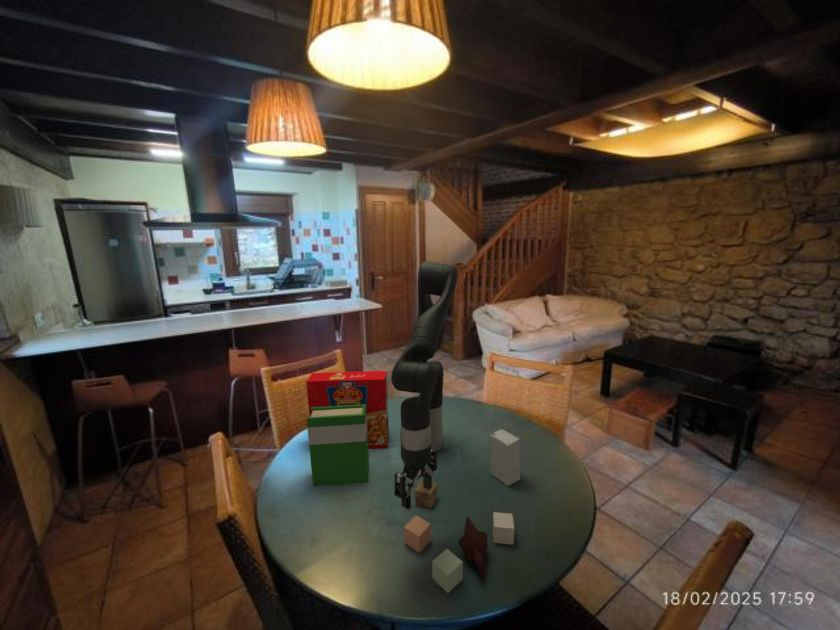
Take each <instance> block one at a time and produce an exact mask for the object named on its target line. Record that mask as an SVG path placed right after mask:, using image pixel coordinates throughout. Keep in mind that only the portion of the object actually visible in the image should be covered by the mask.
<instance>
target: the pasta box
mask: <svg viewBox="0 0 840 630" xmlns="http://www.w3.org/2000/svg"><path fill="white" fill-rule="evenodd" d="M305 382H306V392H307V404H308V413H309V414H308V415H309V417H311V407H326V406H343V405H360V404H366V414H367V432H368V449H369V450H379V449H382V450H384V449H386V450H387V449H389V441H390V427H389V422H390V421H389V406H388V405H389V401H388V399H389V398H388V380H387V370H367V371H365V370H364V371H363V370H361V371H335V372H333V371H332V372H331V371H330V372H311V374H310V375H309V377H308V378H307V380H306V381H305Z"/></svg>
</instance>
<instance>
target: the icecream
mask: <svg viewBox="0 0 840 630" xmlns="http://www.w3.org/2000/svg"><path fill="white" fill-rule="evenodd" d="M463 533H464V534H462V536H461V538H460V539H459V540H458V545H459V547H460V548H461V550H462V552H463V554H464V555H465V557H466V558H467V560H468V561H470V562H475V564H476V566H477V570H478V572H479V576H480V577H481V578H482V579H484V578H486V575H487V569H486V565H485V563H484V558H485V556H486V555H487V552H488V539H489V538H488V534H487V533H486V532H483V531H481V530H479V529H478V528H477V527H476V526H475V524H474V523H473V522H472V520H471V519H470V518H469V516H466V518H465V523H464V532H463Z"/></svg>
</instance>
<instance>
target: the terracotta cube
mask: <svg viewBox="0 0 840 630" xmlns="http://www.w3.org/2000/svg"><path fill="white" fill-rule="evenodd" d="M403 536H404V537H403V539H404V540H403V541H404V544H405V545H407V546H408V547H410V548H411V549H413V550H414V551H416V552H417V553H419V554H420V553H421V552H422V551H423V550H424V549H425V547H426V546H427V545H428V544H429V543H430V542H431V540H432V523H430V522H428V521H426V520H425V519H424V518H422V517H419V516H418V515H414V517H412V519H410V521H408V522H407V523H406V524H405V526H404V527H403Z"/></svg>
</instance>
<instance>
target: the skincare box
mask: <svg viewBox="0 0 840 630" xmlns="http://www.w3.org/2000/svg"><path fill="white" fill-rule="evenodd" d="M520 441H521V440H520V438H519V437H517V436H516V435H514V434H511V433H510V432H508V431H506V430H504V429H502V428H501V429H499V430H496V431H495V432H492V433H491V434H489V455H490V456H489V461H490V462H489V463H490V464H489V467H490V474H491V475H492V476H493V477H495V478H496V479H497V480H499V481H500V482H502V484H504V485H505V486H507V487H509V486H510V485H513V484H515V483H517V482H519V481H520V479H521V452H520V451H521V448H520V447H521V444H520V443H521V442H520Z"/></svg>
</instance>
